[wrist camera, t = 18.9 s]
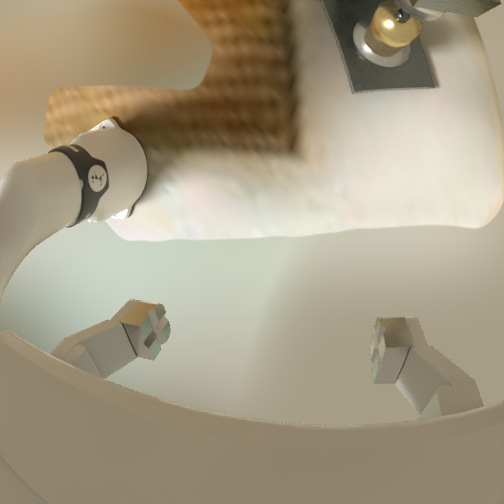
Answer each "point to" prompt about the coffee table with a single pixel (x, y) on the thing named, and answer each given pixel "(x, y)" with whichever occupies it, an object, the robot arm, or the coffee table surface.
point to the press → (404, 62)
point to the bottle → (391, 29)
